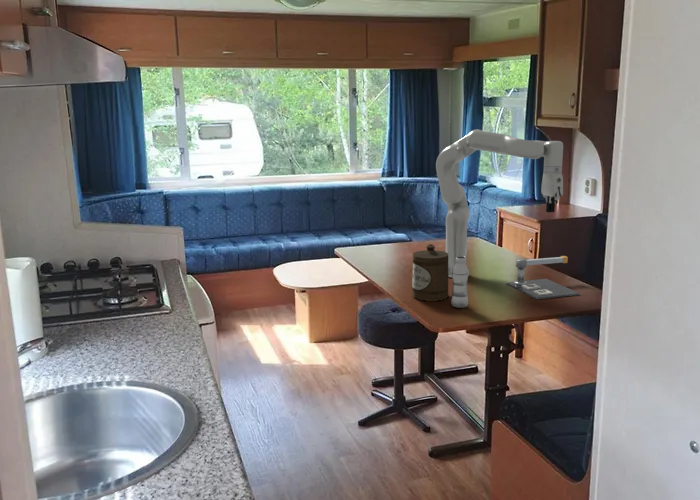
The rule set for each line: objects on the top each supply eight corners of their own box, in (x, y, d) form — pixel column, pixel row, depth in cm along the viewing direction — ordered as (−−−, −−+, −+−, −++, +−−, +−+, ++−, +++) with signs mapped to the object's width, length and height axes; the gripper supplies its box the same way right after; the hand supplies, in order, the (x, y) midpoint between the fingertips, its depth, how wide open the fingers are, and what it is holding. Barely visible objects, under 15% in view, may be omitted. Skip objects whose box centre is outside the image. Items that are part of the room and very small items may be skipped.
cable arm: (519, 268, 275) (519, 261, 275) (514, 265, 280) (514, 259, 279) (568, 264, 281) (569, 257, 281) (562, 261, 286) (563, 255, 285)
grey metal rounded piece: (517, 285, 276) (518, 270, 275) (510, 282, 282) (511, 266, 280) (530, 284, 278) (530, 268, 276) (522, 281, 283) (523, 265, 282)
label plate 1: (528, 289, 270) (528, 287, 270) (521, 286, 275) (521, 284, 275) (540, 288, 272) (540, 286, 272) (534, 285, 277) (534, 283, 276)
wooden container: (406, 293, 269) (406, 242, 264) (437, 289, 274) (438, 239, 270) (422, 303, 256) (423, 249, 251) (454, 299, 261) (456, 246, 256)
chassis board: (536, 299, 259) (537, 297, 259) (506, 284, 281) (506, 282, 281) (579, 295, 264) (579, 293, 264) (546, 280, 287) (546, 278, 287)
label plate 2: (540, 295, 262) (540, 293, 262) (533, 292, 267) (533, 290, 266) (552, 293, 264) (552, 292, 263) (545, 290, 268) (545, 289, 268)
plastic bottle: (464, 310, 246) (465, 260, 242) (448, 307, 250) (449, 258, 245) (470, 306, 251) (472, 256, 247) (454, 303, 255) (455, 254, 250)
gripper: (570, 171, 270) (567, 214, 274) (550, 168, 284) (547, 209, 288) (555, 171, 268) (552, 215, 272) (535, 168, 282) (533, 209, 286)
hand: (550, 211), depth 280 cm, fingers closed
